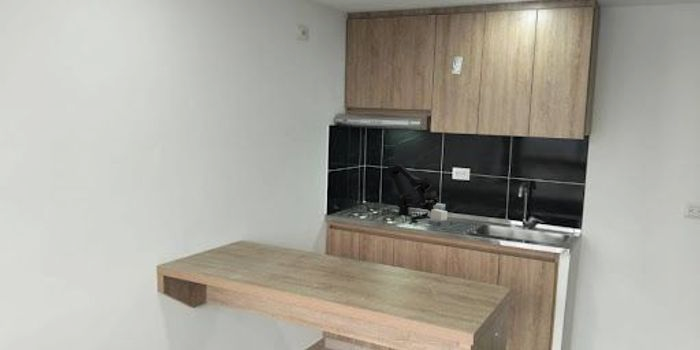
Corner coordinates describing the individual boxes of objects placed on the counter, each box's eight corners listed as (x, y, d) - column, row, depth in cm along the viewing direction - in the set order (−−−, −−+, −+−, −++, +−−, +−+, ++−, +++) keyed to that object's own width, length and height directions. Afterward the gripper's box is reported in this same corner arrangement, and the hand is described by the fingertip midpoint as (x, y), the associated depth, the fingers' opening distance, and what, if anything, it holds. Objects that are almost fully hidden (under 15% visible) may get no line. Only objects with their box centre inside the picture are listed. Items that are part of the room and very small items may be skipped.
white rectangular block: (430, 222, 365) (431, 209, 364) (436, 221, 369) (437, 208, 368) (440, 225, 359) (441, 212, 358) (446, 224, 362) (447, 211, 361)
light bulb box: (444, 218, 388) (445, 204, 387) (440, 220, 382) (441, 205, 381) (430, 216, 394) (432, 201, 392) (426, 217, 388) (428, 202, 387)
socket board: (414, 221, 371) (414, 214, 371) (427, 219, 380) (428, 213, 380) (438, 228, 355) (439, 221, 354) (452, 226, 364) (452, 219, 363)
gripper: (420, 187, 363) (431, 206, 356) (438, 186, 375) (449, 205, 368) (410, 197, 370) (421, 216, 363) (429, 195, 382) (439, 214, 375)
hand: (433, 212), depth 367 cm, fingers closed
